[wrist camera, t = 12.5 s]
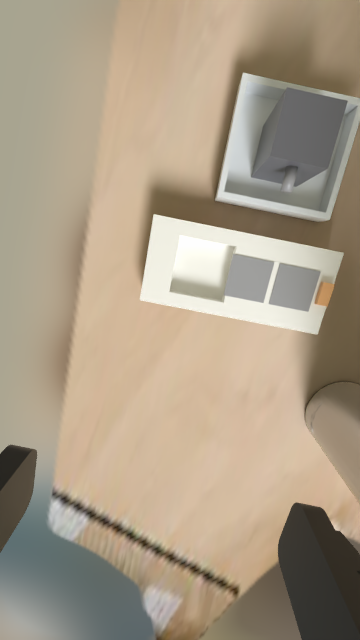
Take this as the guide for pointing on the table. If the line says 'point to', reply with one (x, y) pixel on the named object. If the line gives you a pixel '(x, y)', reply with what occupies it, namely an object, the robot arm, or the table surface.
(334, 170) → the tray
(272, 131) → the block
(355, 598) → the robot arm
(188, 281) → the power strip
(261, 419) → the table surface
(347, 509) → the table surface
